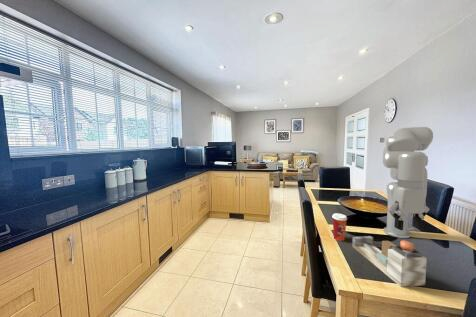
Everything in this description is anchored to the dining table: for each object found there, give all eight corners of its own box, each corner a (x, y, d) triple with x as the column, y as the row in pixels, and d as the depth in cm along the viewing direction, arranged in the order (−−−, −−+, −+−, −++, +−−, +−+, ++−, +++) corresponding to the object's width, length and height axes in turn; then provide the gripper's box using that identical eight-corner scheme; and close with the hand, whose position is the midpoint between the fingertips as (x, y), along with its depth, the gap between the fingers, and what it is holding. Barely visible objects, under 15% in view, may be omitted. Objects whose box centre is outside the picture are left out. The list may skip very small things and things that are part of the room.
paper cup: (341, 243, 104) (341, 219, 103) (328, 237, 111) (329, 214, 110) (349, 239, 108) (350, 216, 107) (337, 234, 115) (337, 212, 114)
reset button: (406, 245, 77) (407, 240, 77) (416, 251, 73) (416, 245, 73) (397, 246, 77) (397, 240, 77) (406, 251, 73) (407, 245, 73)
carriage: (390, 259, 87) (391, 239, 86) (400, 266, 82) (401, 245, 81) (376, 259, 86) (377, 240, 86) (385, 267, 81) (386, 246, 81)
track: (370, 245, 101) (371, 222, 100) (425, 285, 73) (427, 253, 72) (352, 246, 101) (353, 223, 100) (400, 286, 72) (402, 254, 71)
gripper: (421, 181, 77) (418, 223, 78) (380, 183, 76) (379, 225, 78) (441, 185, 70) (438, 232, 71) (397, 187, 69) (395, 233, 70)
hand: (407, 228), depth 74 cm, fingers open, 6 cm apart
